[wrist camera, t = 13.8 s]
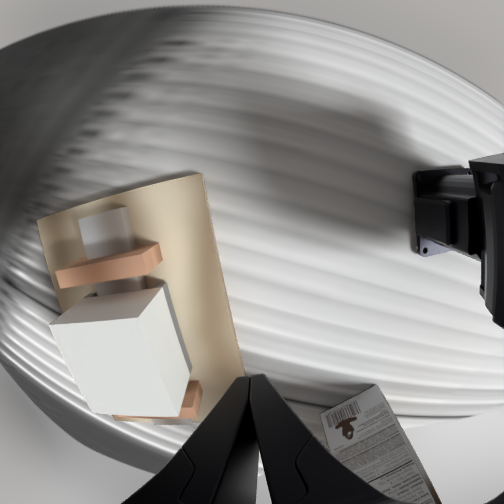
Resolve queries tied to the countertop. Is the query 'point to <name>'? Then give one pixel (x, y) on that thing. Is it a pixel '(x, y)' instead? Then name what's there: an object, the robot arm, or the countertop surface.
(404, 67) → the countertop surface
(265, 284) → the countertop surface
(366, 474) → the coffee box
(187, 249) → the rail board
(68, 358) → the block
